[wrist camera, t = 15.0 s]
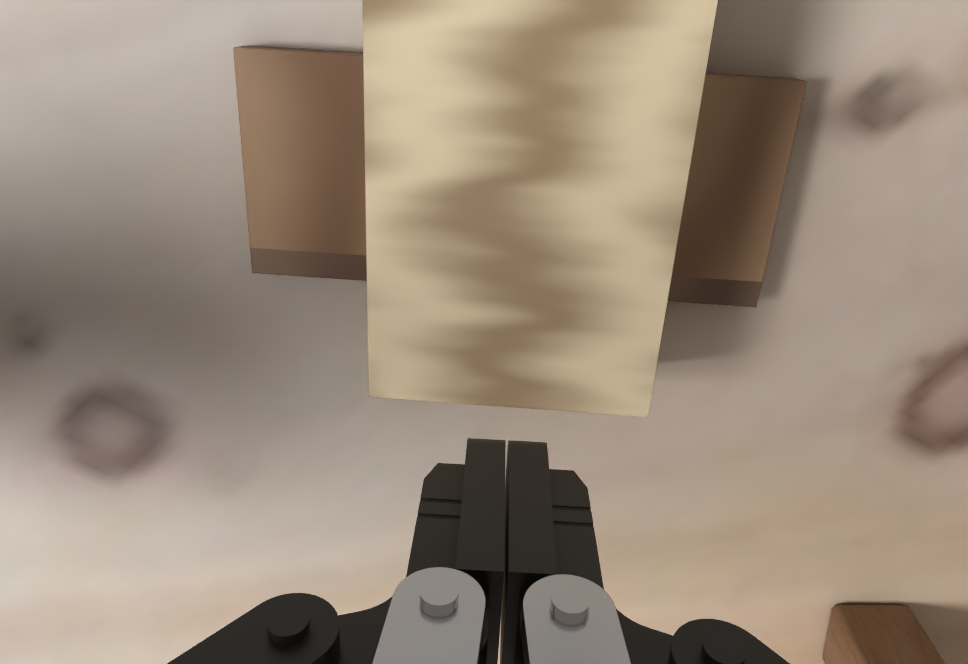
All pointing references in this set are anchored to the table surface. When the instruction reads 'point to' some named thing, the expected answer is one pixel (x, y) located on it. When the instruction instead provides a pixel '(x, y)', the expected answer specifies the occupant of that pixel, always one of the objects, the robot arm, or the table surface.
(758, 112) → the floor panel
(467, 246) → the oak plank
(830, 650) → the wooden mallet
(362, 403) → the table surface
